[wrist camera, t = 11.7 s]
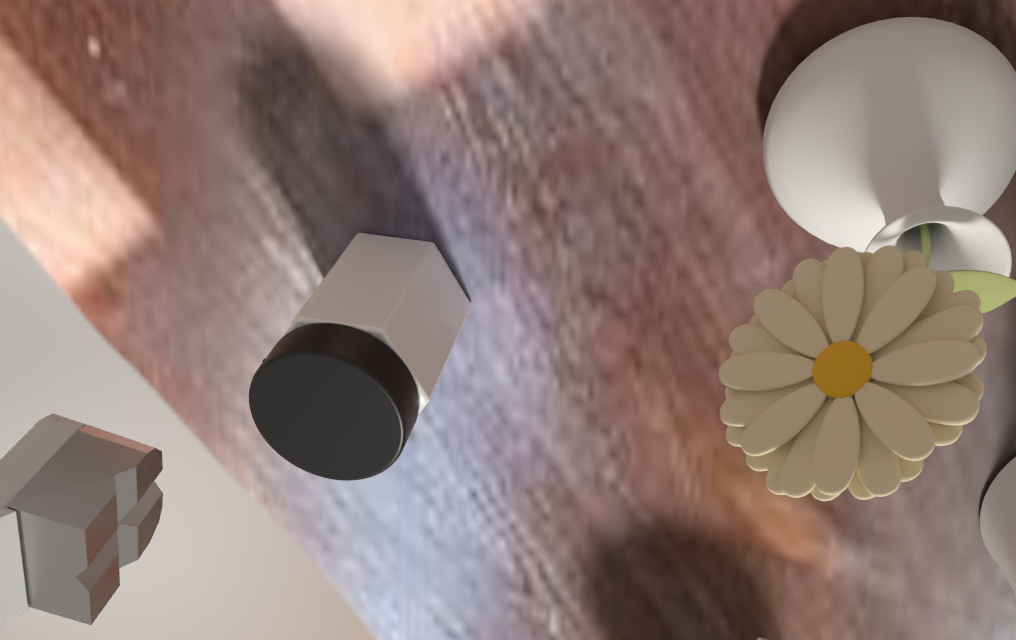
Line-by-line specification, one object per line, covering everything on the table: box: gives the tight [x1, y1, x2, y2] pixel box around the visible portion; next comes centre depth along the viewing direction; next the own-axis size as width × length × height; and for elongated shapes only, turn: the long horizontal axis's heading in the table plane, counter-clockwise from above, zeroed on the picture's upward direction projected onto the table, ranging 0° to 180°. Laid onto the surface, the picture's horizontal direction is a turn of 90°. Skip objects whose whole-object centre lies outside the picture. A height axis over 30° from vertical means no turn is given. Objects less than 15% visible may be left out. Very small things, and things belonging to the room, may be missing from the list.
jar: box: [249, 233, 471, 480], centre depth 51 cm, size 9×8×12 cm
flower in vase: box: [719, 17, 1016, 501], centre depth 35 cm, size 13×11×25 cm
